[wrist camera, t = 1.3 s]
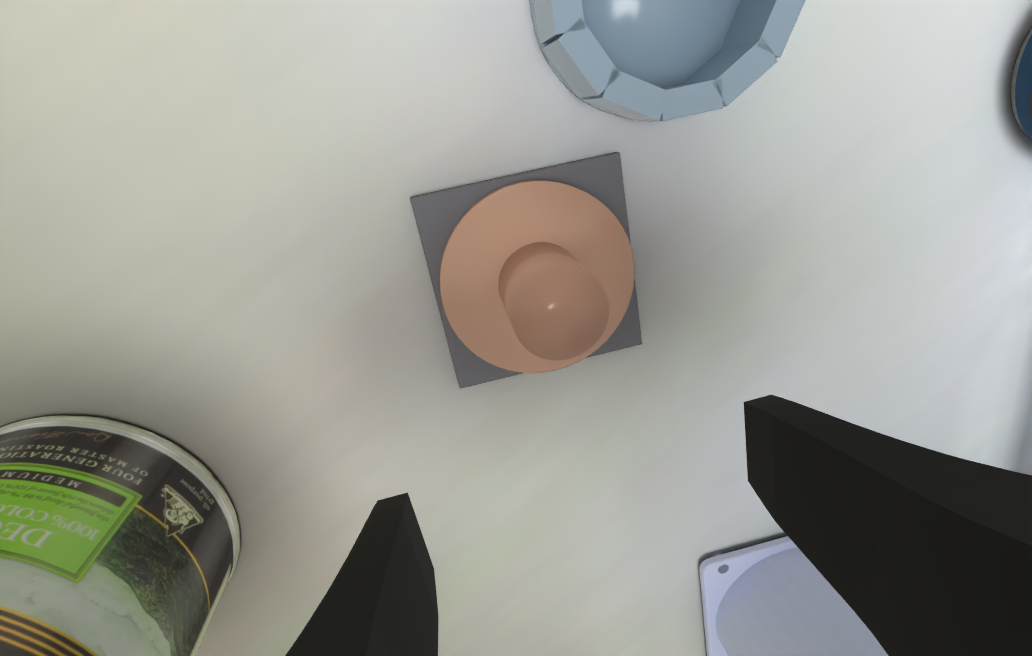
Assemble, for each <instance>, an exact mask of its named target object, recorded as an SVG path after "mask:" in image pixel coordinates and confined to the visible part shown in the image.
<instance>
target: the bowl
mask: <svg viewBox="0 0 1032 656" xmlns="http://www.w3.org/2000/svg"><path fill="white" fill-rule="evenodd" d="M529 1H530V11H531V17H532V22H533V27H534V31H535V34H536V37H537V40H538V43H539V46H540V48H541V50H542V52H543V54H544V56H545V58H546V60H547V62H548V64H549V65H550V67H551V68H552V70H553V72H554V73H555V75H556V76H557V77H558V78H559V79H560V81H561V82H562V83H563V84H564V85H565V86H566V87H567V88H568V89H569V90H570V91H571V92H572V93H573V94H574V95H576V96H577V97H578V98H580V99H581V100H582V101H584V102H586V103H587V104H589V105H591V106H593V107H595V108H597V109H599V110H601V111H604V112H608V113H611V114H614V115H620V116H623V117H625V118H628V119H631V120H636V121H666V120H671V119H675V118H680V117H684V116H689V115H694V114H698V113H703V112H708V111H712V110H717V109H722V108H723V106H728V105H729V104H730V103H731V102H732V101H733V100H734V99H735V98H737V97H738V96H739V95H740V94H741V93H742V92H743V91H744V90H746V89H747V88H748V87H749V86H750V85H751V84H752V83H753V82H755V81H756V80H757V79H758V78H759V77H760V76H761V75H763V74H764V73H765V72H766V71H767V70H768V69H769V68H770V67H772V66H773V65H774V64H775V63H776V62H777V59H776V58H778V57H781V55H782V52H783V50H784V48H785V45H786V43H787V41H788V39H789V36H790V34H791V32H792V30H793V27H794V25H795V23H796V20H797V18H798V16H799V14H800V11H801V9H802V7H803V5H804V2H805V0H529Z"/></svg>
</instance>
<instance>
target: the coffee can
mask: <svg viewBox="0 0 1032 656" xmlns="http://www.w3.org/2000/svg"><path fill="white" fill-rule="evenodd" d="M239 553H240V530H239V524H238V520H237V516H236V513H235V510H234V507H233V505H232V503H231V501H230V499H229V497H228V495H227V494H226V492H225V490H224V489H223V487H222V486H221V485H220V483H219V482H218V481H217V479H216V478H215V477H214V476H213V475H212V473H211V472H210V471H209V470H208V469H207V468H206V467H205V466H204V465H203V464H202V463H201V462H200V461H199V460H197V459H196V458H194V457H193V456H192V455H190V454H189V453H188V452H186V451H185V450H183V449H182V448H180V447H179V446H177V445H176V444H174V443H172V442H170V441H168V440H167V439H165V438H163V437H161V436H158V435H156V434H154V433H152V432H149V431H147V430H144V429H142V428H139V427H136V426H133V425H130V424H126V423H122V422H118V421H114V420H110V419H105V418H98V417H91V416H66V415H63V416H45V417H39V418H32V419H27V420H22V421H19V422H15V423H12V424H8V425H5V426H3V427H0V656H196V654H197V652H198V649H199V647H200V645H201V642H202V640H203V638H204V635H205V633H206V630H207V628H208V626H209V623H210V621H211V618H212V616H213V614H214V611H215V609H216V607H217V605H218V602H219V600H220V598H221V595H222V593H223V591H224V589H225V588H226V586H227V584H228V582H229V581H230V579H231V577H232V574H233V572H234V570H235V567H236V564H237V561H238V556H239Z"/></svg>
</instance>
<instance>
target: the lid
mask: <svg viewBox="0 0 1032 656" xmlns="http://www.w3.org/2000/svg"><path fill="white" fill-rule="evenodd" d="M634 274H635V273H634V259H633V254H632V249H631V246H630V243H629V240H628V237H627V235H626V233H625V231H624V229H623V227H622V225H621V224H620V222H619V221H618V219H617V218H616V216H615V215H614V214H613V213H612V212H611V211H610V210H609V209H608V208H607V207H606V206H605V205H604V204H603V203H601V202H600V201H599V200H598V199H596V198H595V197H593V196H591V195H590V194H588V193H586V192H584V191H582V190H580V189H578V188H575V187H573V186H571V185H568V184H565V183H561V182H557V181H551V180H525V181H519V182H515V183H511V184H508V185H505V186H502V187H500V188H498V189H495V190H493V191H491V192H490V193H488V194H487V195H485V196H483V197H482V198H480V199H479V200H478V201H477V202H475V203H474V204H473V205H472V206H471V207H470V208H469V209H468V210H467V211H466V212H465V213H464V214H463V215H462V216H461V218H460V219H459V220H458V222H457V223H456V225H455V226H454V228H453V230H452V231H451V233H450V235H449V237H448V239H447V242H446V245H445V247H444V250H443V254H442V259H441V265H440V290H441V297H442V303H443V307H444V310H445V313H446V316H447V319H448V321H449V323H450V325H451V327H452V329H453V330H454V332H455V333H456V335H457V336H458V338H459V339H460V340H461V341H462V342H463V343H464V345H465V346H466V347H467V348H468V349H470V350H471V351H472V352H473V353H474V354H475V355H477V356H478V357H480V358H481V359H483V360H485V361H486V362H488V363H490V364H493V365H495V366H497V367H500V368H503V369H506V370H510V371H515V372H523V373H541V372H548V371H554V370H558V369H561V368H564V367H567V366H570V365H572V364H574V363H577V362H579V361H580V360H582V359H584V358H585V357H587V356H589V355H590V354H591V353H593V352H594V351H595V350H597V349H598V348H599V347H600V346H601V345H602V344H603V343H604V342H606V341H607V340H608V338H609V337H610V336H611V335H612V334H613V332H614V331H615V330H616V328H617V327H618V325H619V324H620V322H621V320H622V318H623V316H624V314H625V312H626V310H627V308H628V305H629V302H630V299H631V295H632V291H633V286H634Z"/></svg>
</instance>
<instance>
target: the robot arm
mask: <svg viewBox="0 0 1032 656" xmlns="http://www.w3.org/2000/svg"><path fill="white" fill-rule="evenodd" d="M744 414H745V433H746V451H747V470H748V481H749V483H750V484H751V486H752V487H753V489H754V490H755V492H756V494H757V495H758V497H759V498H760V500H761V501H762V503H763V504H764V506H765V507H766V509H767V510H768V511H769V513H770V514H771V516H772V517H773V519H774V520H775V521H776V523H777V524H778V525H779V526H780V527H781V529H782V530H783V531H784V532H785V533H786V534H787V536H786V537H783V538H779V539H776V540H772V541H768V542H765V543H761V544H757V545H754V546H750V547H747V548H743V549H739V550H736V551H732V552H729V553H725V554H721V555H718V556H714V557H710V558H707V559H705V560H704V561H703V562H702V563H701V565H700V568H699V571H700V582H701V593H702V605H703V616H704V627H705V638H706V649H707V656H1032V476H1031V475H1027V474H1022V473H1018V472H1013V471H1009V470H1005V469H1001V468H997V467H993V466H989V465H985V464H981V463H977V462H973V461H969V460H965V459H961V458H957V457H954V456H950V455H947V454H943V453H940V452H937V451H933V450H930V449H927V448H924V447H920V446H917V445H914V444H911V443H908V442H904V441H901V440H898V439H895V438H892V437H889V436H886V435H883V434H880V433H878V432H875V431H872V430H869V429H866V428H863V427H861V426H858V425H855V424H852V423H850V422H847V421H844V420H841V419H839V418H836V417H833V416H831V415H828V414H825V413H823V412H820V411H817V410H814V409H812V408H809V407H806V406H803V405H801V404H798V403H795V402H792V401H789V400H786V399H783V398H780V397H777V396H774V395H768V396H765V397H761V398H757V399H754V400H750V401H746V402H744ZM721 565H722V566H721ZM285 656H438V607H437V596H436V586H435V576H434V568H433V565H432V562H431V559H430V556H429V553H428V550H427V547H426V544H425V542H424V539H423V536H422V533H421V530H420V527H419V524H418V521H417V518H416V516H415V513H414V510H413V507H412V504H411V501H410V498H409V495H408V493H404V494H401V495H397V496H393V497H390V498H386V499H382V500H378V501H377V503H376V504H375V506H374V508H373V510H372V511H371V513H370V515H369V517H368V519H367V521H366V523H365V525H364V527H363V529H362V531H361V533H360V534H359V536H358V538H357V540H356V542H355V544H354V546H353V548H352V549H351V551H350V553H349V555H348V557H347V559H346V560H345V562H344V564H343V566H342V567H341V569H340V571H339V573H338V574H337V576H336V578H335V580H334V581H333V583H332V585H331V587H330V588H329V590H328V592H327V593H326V595H325V596H324V598H323V600H322V601H321V603H320V604H319V606H318V608H317V609H316V611H315V612H314V614H313V615H312V617H311V619H310V620H309V622H308V623H307V625H306V626H305V628H304V630H303V631H302V632H301V634H300V635H299V637H298V638H297V640H296V641H295V643H294V644H293V646H292V647H291V648H290V650H289V651H288V653H287V654H286V655H285Z"/></svg>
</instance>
